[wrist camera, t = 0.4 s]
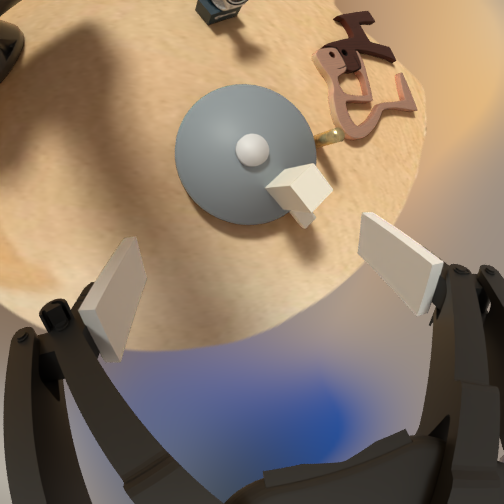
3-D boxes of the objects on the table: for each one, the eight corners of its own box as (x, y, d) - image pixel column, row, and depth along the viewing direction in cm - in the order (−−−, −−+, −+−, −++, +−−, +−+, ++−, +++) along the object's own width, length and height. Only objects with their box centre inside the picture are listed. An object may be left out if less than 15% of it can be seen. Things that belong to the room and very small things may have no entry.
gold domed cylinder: (306, 140, 39) (330, 131, 33) (314, 134, 40) (339, 125, 33) (312, 150, 40) (338, 144, 33) (321, 144, 40) (347, 137, 34)
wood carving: (363, 14, 38) (276, 12, 34) (368, 11, 36) (280, 6, 32) (414, 121, 46) (340, 144, 42) (421, 120, 44) (347, 143, 40)
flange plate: (143, 148, 31) (136, 131, 23) (252, 65, 33) (275, 35, 24) (260, 270, 39) (286, 290, 31) (346, 180, 41) (386, 179, 32)
